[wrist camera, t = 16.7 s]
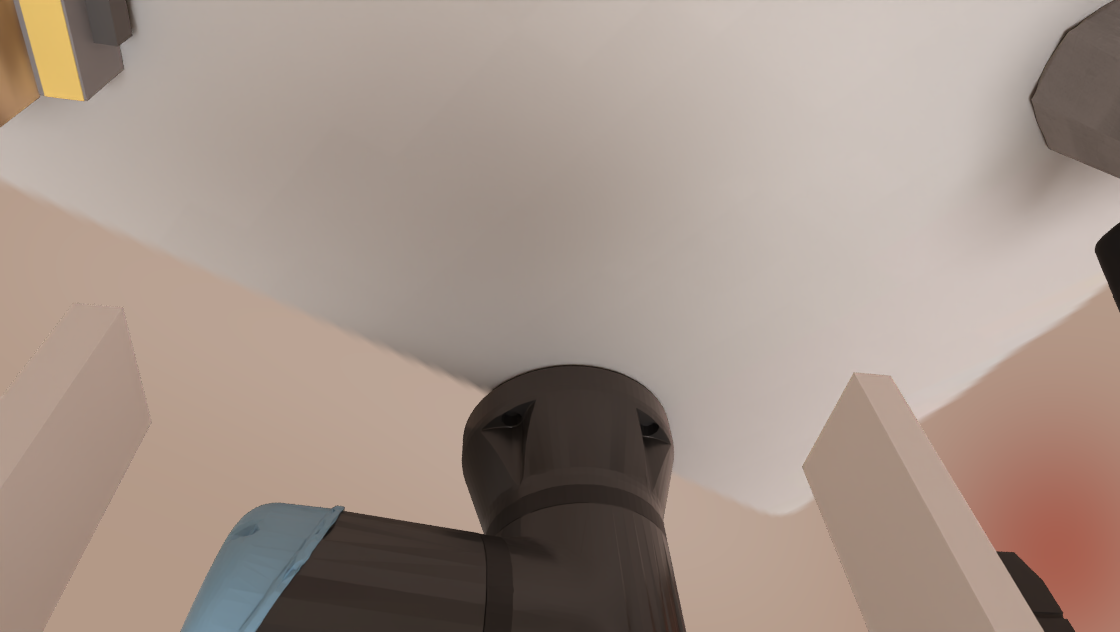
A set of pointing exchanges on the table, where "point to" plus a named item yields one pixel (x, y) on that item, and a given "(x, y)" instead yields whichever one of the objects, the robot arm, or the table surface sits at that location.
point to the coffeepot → (1087, 110)
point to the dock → (73, 44)
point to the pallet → (14, 66)
